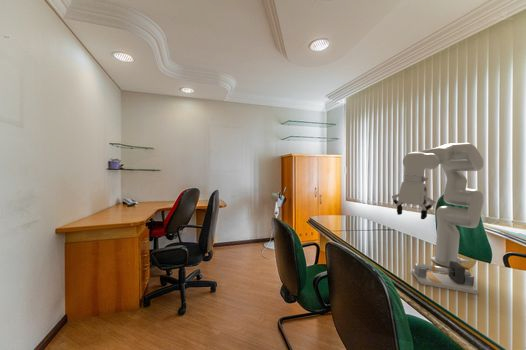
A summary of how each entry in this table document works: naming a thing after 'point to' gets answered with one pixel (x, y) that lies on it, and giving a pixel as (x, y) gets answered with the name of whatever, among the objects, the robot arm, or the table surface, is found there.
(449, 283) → the pipe jig
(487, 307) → the table surface
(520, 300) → the table surface
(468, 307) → the table surface
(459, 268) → the collar
